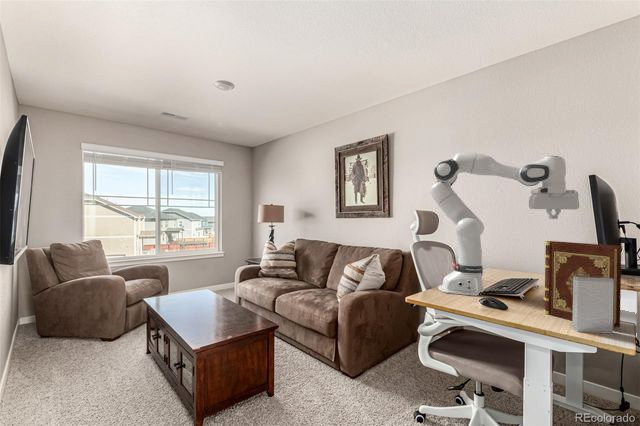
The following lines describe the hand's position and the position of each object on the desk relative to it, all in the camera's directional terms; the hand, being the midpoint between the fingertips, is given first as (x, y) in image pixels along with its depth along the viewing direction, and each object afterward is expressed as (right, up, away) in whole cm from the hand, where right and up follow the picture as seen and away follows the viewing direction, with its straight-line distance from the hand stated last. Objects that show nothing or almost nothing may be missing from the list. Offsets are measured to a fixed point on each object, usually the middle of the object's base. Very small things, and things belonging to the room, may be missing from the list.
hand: (553, 218), depth 143 cm
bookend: (-15, -39, -37) cm, 56 cm away
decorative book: (-10, -39, -25) cm, 48 cm away
